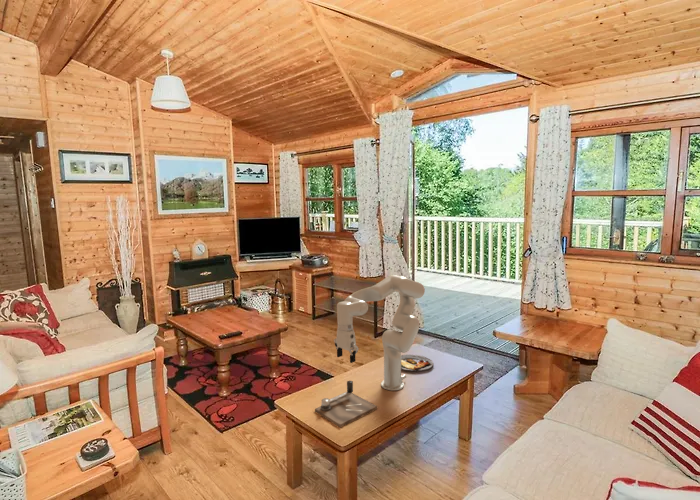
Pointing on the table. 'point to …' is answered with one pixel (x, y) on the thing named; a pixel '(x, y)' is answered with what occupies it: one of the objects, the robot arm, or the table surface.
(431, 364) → the food plate
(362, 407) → the cracker board
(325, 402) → the lever
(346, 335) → the robot arm
